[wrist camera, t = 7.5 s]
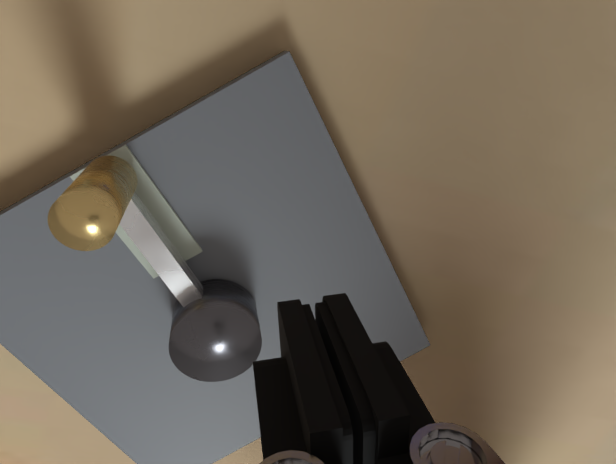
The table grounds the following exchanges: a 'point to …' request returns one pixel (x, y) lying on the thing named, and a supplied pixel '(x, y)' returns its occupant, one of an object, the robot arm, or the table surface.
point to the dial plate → (198, 266)
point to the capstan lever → (162, 272)
